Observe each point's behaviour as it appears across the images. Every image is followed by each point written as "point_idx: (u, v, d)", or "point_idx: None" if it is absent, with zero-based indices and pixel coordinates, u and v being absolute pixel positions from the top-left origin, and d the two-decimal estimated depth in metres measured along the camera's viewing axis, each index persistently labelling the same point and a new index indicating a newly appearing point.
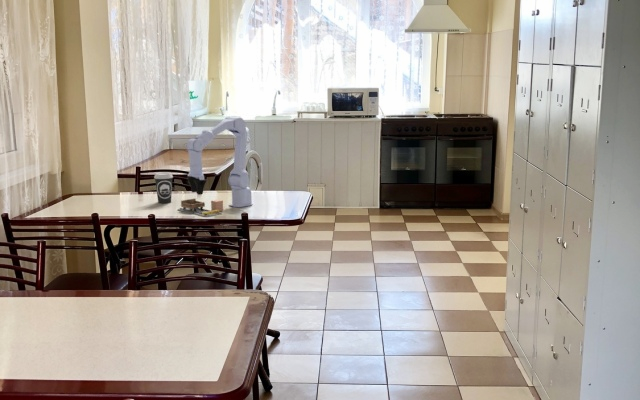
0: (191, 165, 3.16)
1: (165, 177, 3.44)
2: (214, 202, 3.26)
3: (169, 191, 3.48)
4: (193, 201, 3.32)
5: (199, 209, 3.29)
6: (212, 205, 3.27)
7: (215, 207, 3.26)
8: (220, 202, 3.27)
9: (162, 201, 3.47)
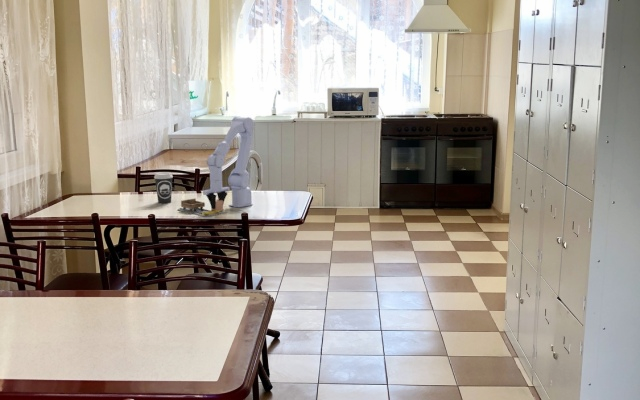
0: None
1: (165, 177, 3.44)
2: None
3: (169, 191, 3.48)
4: (193, 201, 3.32)
5: (199, 209, 3.29)
6: None
7: (215, 207, 3.26)
8: (220, 202, 3.27)
9: (162, 201, 3.47)
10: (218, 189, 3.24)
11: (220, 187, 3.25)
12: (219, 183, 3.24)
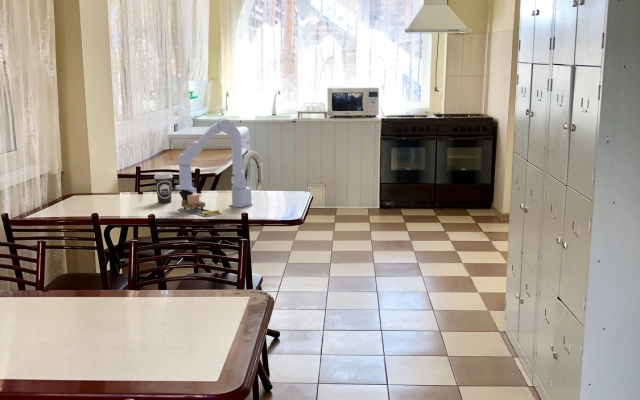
0: (182, 179, 3.27)
1: (165, 177, 3.44)
2: (190, 196, 3.25)
3: (169, 191, 3.48)
4: None
5: (199, 209, 3.29)
6: (188, 199, 3.27)
7: (191, 202, 3.25)
8: (196, 196, 3.26)
9: (162, 201, 3.47)
10: None
11: None
12: None
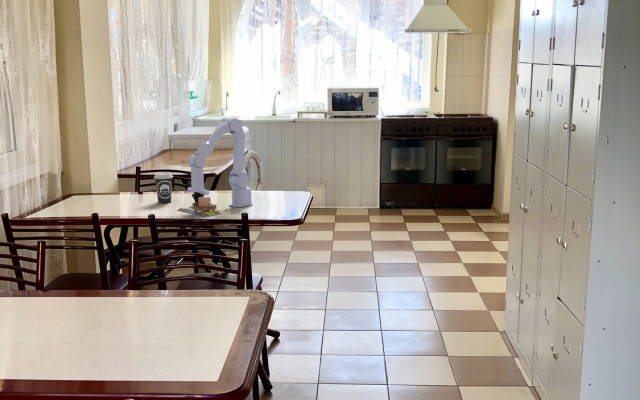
0: (194, 181, 3.20)
1: (165, 177, 3.44)
2: (201, 199, 3.19)
3: (169, 191, 3.48)
4: None
5: None
6: (199, 202, 3.21)
7: (202, 204, 3.19)
8: (207, 199, 3.20)
9: (162, 201, 3.47)
10: None
11: None
12: None
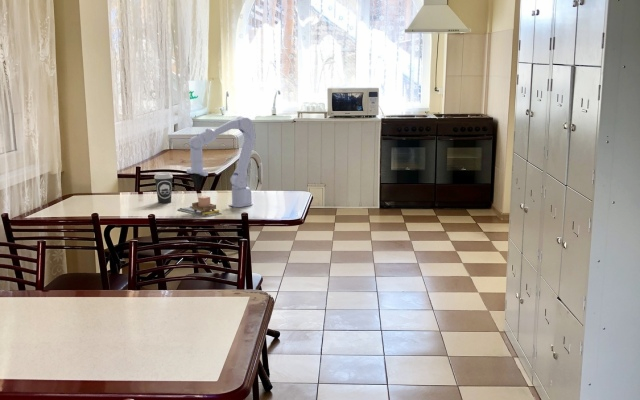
0: (193, 162, 3.25)
1: (165, 177, 3.44)
2: (201, 199, 3.19)
3: (169, 191, 3.48)
4: None
5: None
6: (199, 202, 3.21)
7: (202, 204, 3.19)
8: (207, 199, 3.20)
9: (162, 201, 3.47)
10: None
11: None
12: None
